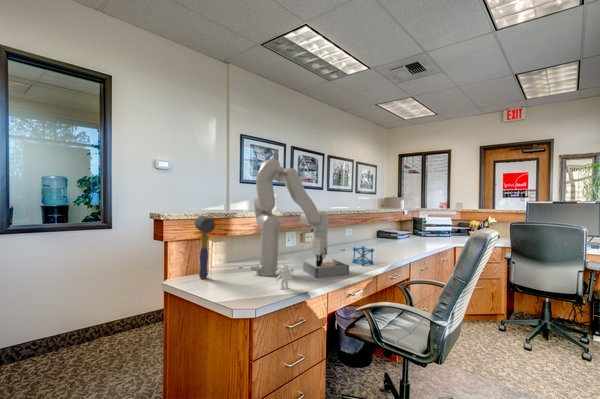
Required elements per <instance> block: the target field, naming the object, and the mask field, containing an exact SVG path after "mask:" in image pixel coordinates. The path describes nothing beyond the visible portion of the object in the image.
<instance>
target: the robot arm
mask: <svg viewBox="0 0 600 399" xmlns="http://www.w3.org/2000/svg"><path fill="white" fill-rule="evenodd" d="M274 181H276V182H279V183H280V184H284V185H285V186H286V189H287V191H288V192H289V195H290V197H291V200H292V201H293V202H294V203H295V204H297V205H298V206H299V207H300V208H301V210H302V211H303V212H302V213H301V214H300V216H299V219H300V222H301V223H302V224H303V225H306V226H309V227H314V228H313V238H312V243H311V252H312V253H313V254H314V255H315V259H316V261H315V267H317V268H319V267H321V264H322V263H324V262H323V261H324V259H325V258H326V256H327V255H328V228H329V227H328V226H329V214H328V213H327V212H320V211H318V208H317V206H316V204H315V203H314V201H313V199H312V198H311V196H309V194H308V193H307V191H306V189H305V186H304V185H303V182H302V179H301V177H300V174H299V173H298V171H297V170H296V169H295V168H293V167H290V168H289V167H288V168H285V167H283V166H281V163H280V161H278V160H277V159H275V158H269V159H266V160H264V161H262V162H261V164H260V165H259V170H258V173H257V175H256V179H255V185H256V193H257V194H256V195H255V197H254V200H253V207H254V214H255V219H256V223H257V225H258V227H259V228H260V229H261V233H260V244H259V249H260V250H259V251H260V252H259V263H258V264H257V265H256V266H250V271H254V272H256V274H257V275H259V276H264V277H275V276H279V273H278V274H276V272H277V270H278V269H279V268H278V267H279V266H278V265H279V239H280V238H279V237H280V230H281V219H280V218H279V216H278V215H276V214H274V213H273V210H274V209H275V207H276V199H275V198H276V197H275V193H274V192H275V191H274V185H273V184H274V183H273V182H274Z"/></svg>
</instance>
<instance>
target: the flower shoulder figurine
mask: <svg viewBox="0 0 600 399" xmlns="http://www.w3.org/2000/svg"><path fill="white" fill-rule="evenodd" d="M294 270H295V269H294V267H292V266H289V265H288V263H282V262H281V266H280V268H278V270H277V272H276V274H278V273H279V275H277V277H276V280H275V281H276V283H278V281H281V282H280V287H279V290H281V291H283V290H285V289H286V290H287V289H289V284H288V282H289V280H290V281H291V280H292V279H293V277H292V276H293V275H292V274H293V273H294ZM280 278H281V280H280Z"/></svg>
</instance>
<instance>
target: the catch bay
mask: <svg viewBox="0 0 600 399" xmlns="http://www.w3.org/2000/svg"><path fill="white" fill-rule="evenodd" d="M332 263H337V264H338V266H330V267H317V266H316V265H313V264H312V263H308V262H306V261H303V264H302V265H303V266H302V271H303V272H305V273H307V274H308V275H311V276H312V277H313V278H316V279H321V278H329V277H338V276H340V277H341V276H347V275H350V273H349V272H350V265H349V264H347V263H344V262H341V261H339V260H337V259H334V258H332Z"/></svg>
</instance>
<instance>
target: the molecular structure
mask: <svg viewBox="0 0 600 399" xmlns="http://www.w3.org/2000/svg"><path fill="white" fill-rule="evenodd" d="M352 251H353V259H352V260H351V263H352V264H356V263H358V264H360V265H361V266H363V267H364V266H365V265H368V264H370V265H373V264H374V262H375V261H374V260H373V252H374V251H375V249H374V248H373V247H371V248H366V247H365V246H361V247H355V246H354V247H352ZM356 252H357V254H359V255H360V256H359V257H358V258H356V257H355V256H356ZM370 253H371V254H370ZM368 254H370V256H371V258H370V259H369V258H367V257H366V255H368Z"/></svg>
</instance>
